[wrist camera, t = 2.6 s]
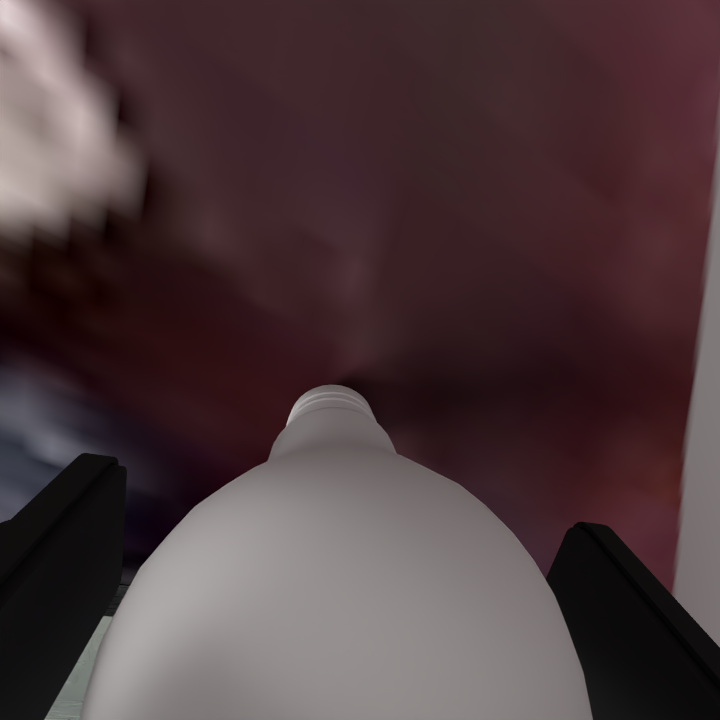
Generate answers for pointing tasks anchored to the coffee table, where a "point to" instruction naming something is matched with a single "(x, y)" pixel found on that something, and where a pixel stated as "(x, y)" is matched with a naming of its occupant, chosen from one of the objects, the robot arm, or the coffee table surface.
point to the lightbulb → (338, 597)
